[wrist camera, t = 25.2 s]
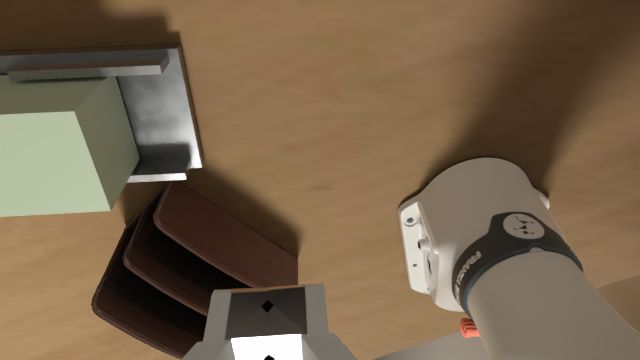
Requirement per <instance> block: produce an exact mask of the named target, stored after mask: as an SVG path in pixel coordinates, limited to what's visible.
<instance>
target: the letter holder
mask: <svg viewBox="0 0 640 360" xmlns="http://www.w3.org/2000/svg"><path fill="white" fill-rule="evenodd" d="M290 285H298V259H297V258H295V257H293V256H292V255H290V254H289V253H287V252H286V251H284V250H283V249H281V248H280V247H278V246H277V245H275V244H273V243H272V242H270V241H269V240H267V239H266V238H264V237H263V236H261V235H259V234H258V233H257V232H255V231H253V230H252V229H250V228H249V227H247V226H246V225H244V224H243V223H241V222H240V221H238V220H237V219H235V218H233V217H232V216H230V215H229V214H227V213H225V212H224V211H223V210H221V209H219V208H218V207H216V206H215V205H213V204H212V203H210V202H208V201H207V200H205V199H204V198H202V197H201V196H199V195H198V194H196V193H194V192H193V191H191V190H190V189H188V188H187V187H185V186H184V185H182V184H181V183H179V182H177V181H176V180H169V181H167V182H166V183H165V184H164V185H163V186H162V187H161V189H160V190H159V191H158V192H157V193H156V194H155V195H154V196H153V197H152V198H151V200H150V201H149V202H148V203H147V204H146V205H145V206H144V207H143V208H142V209H141V210H140V211H139V213H138V214H137V215H136V216H135V217H134V218H133V219H132V220H131V221H130V222H129V224H128V225H127V226H126V228H125V229H124V232H123V234H122V236H121V238H120V240H119V242H118V245H117V247H116V249H115V251H114V253H113V255H112V257H111V260H110V262H109V264H108V266H107V269H106V271H105V273H104V275H103V277H102V279H101V281H100V283H99V285H98V287H97V289H96V292H95V294H94V296H93V298H92V304H91V305H92V310H93V312H94V313H95V314H96V315H97V316H98V317H100V318H102V319H103V320H105V321H107V322H108V323H110V324H111V325H113V326H115V327H116V328H118V329H120V330H121V331H123V332H125V333H127V334H129V335H130V336H132V337H134V338H136V339H138V340H140V341H142V342H143V343H145V344H148V345H150V346H151V347H154V348H156V349H158V350H160V351H162V352H164V353H167V354H169V355H171V356H174V357H176V358H178V359H182V358H183V357H184V356H185V355H186V354H187V353H188V352H189V351H190V350H191V348H192V347H193V346H194V345H195V344H196V343H197V342H203V338H204V333H205V328H206V323H207V317H208V312H209V307H210V302H211V296H212V293H213V292H214V290H223V289H242V288H269V287H276V286H290Z"/></svg>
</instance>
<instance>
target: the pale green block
mask: <svg viewBox="0 0 640 360" xmlns="http://www.w3.org/2000/svg"><path fill="white" fill-rule="evenodd" d="M139 159H140V157H139V154H138V151H137V147H136V144H135V140H134V137H133V134H132V130H131V127H130V124H129V120H128V117H127V113H126V110H125V107H124V103H123V100H122V97H121V93H120V90H119V87H118V83H117V80H116V76H107V77H84V78H61V79H38V80H15V81H11V80H10V78H9V76H8V75H0V217H7V216H25V215H44V214H62V213H80V212H98V211H111V210H112V208H113V206H114V204H115V203H116V201H117V199H118V197H119V195H120V194H121V192H122V190H123V188H124V186H125V185H126V183H127V181H128V179H129V177H130V176H131V174H132V172H133V170H134V168H135V167H136V165H137V163H138V161H139Z"/></svg>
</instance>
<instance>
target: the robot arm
mask: <svg viewBox="0 0 640 360" xmlns="http://www.w3.org/2000/svg"><path fill="white" fill-rule="evenodd" d="M549 207H550V202H549V201H548V199H547V197H546V196H545V195H544V194H543V193H541V192H540V191H538V190H536V189H534V188H533V187H532V185H531V183H530V181H529V179H528V177H527V176H526V174H525V173H524V172H523V171H522V170H521V169H520V168H519V167H518V166H516V165H515V164H513V163H511V162H509V161H506V160H502V159H498V158H477V159H472V160H468V161H464V162H461V163H459V164H456V165H454V166H452V167H450V168H448V169H447V170H445V171H443V172H442V173H440V174H439V175H438V176H437V177H435V178H434V179H433V180H432V181H431V182H430V183H429V184H428V185H427V187H426V188H425V189H424V190H423V191H422V192H421V193H420V194H418V195H417V196H415V197H413V198H411V199H409V200H408V201H406V202H404V203H403V204H402V205H401V206H400V207H399V209H398V215H399V221H400V228H401V235H402V241H403V248H404V255H405V261H406V268H407V275H408V281H409V284H410V286H411V288H412V289H413V290H416V291H418V292H421V293H425V294H431V296H432V299H433V301H434V303H435V304H436V305H438V306H439V307H441V308H444V309H447V310H451V311H461V312H465V313H466V314H467V315H468V316H469V317H470V318H471V319H468V318H462V319H461V320H460V329H461V333H462V334H463V336H464V337H465V338H468V337H472V336H478V337H481V339H482V342H483V344H484V346H485V348H486V351H487V353H488V356H489V358H490V360H640V333H638V332H637V331H636V330H635V329H633V328H632V327H631V326H630V325H629V324H628V323H627V322H626V321H624V320H623V319H622V318H621V316H619V314H618V313H617V312H616V311H615V310H614V309H613V308H612V307H611V306H610V305H609V303H608V302H607V301H606V300H605V299H604V298H603V297H602V296H601V294H600V293H599V292H598V291H597V290H596V288H595V287H594V286H593V285H592V284H591V282H590V281H589V280H588V279H587V278H586V276H585V275H584V274H583V268H582V265H581V263H580V261H579V260H578V258H577V256H576V255H575V252H574V251H573V250H572V248H571V247H569V246H568V245H567V243H566V239H565V237H564V235H563V233H562V232H561V230H560V228H559V227H558V225H557V223H556V222H555V220H554V219H553V217H552V215H551V214H550V212H549V211H548V209H549ZM409 218H411V219H409ZM408 219H409V220H408ZM305 297H306V298H305ZM181 360H357V359H356V358H355V357H354V355H353V354H352V353H351V352H350V351H349V350H348V349H347V347H346V346H345V345H344V344H343V343H342V342H341V341H340V339H339V338H338V337H337V336H336V335H335V334H334V333H328V323H327V312H326V301H325V290H324V285H323V283H321V284H306V285H305V284H303V285H290V286H276V287H269V288H242V289H223V290H214V292H213V293H212V296H211V302H210V307H209V312H208V317H207V323H206V328H205V333H204V338H203V342H197V343H196V344H195V345H194V346H193V347H192V348H191V350H190V351H189V352H188V353H187V354H186V355H185V356H184V357H183V358H182V359H181Z"/></svg>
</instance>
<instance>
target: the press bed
mask: <svg viewBox="0 0 640 360" xmlns="http://www.w3.org/2000/svg"><path fill="white" fill-rule="evenodd" d="M0 75H8V76H9V78H10V80H11V81H15V80H38V79H61V78H84V77H107V76H116V80H117V83H118V87H119V90H120V93H121V97H122V100H123V103H124V107H125V110H126V113H127V117H128V120H129V124H130V127H131V130H132V134H133V137H134V140H135V144H136V147H137V151H138V154H139V157H140V159H139V161H138V163H137V165H136V167H135V168H134V170H133V172H132V174H131V176H130V177H129V179H128V181H127V183H131V182H150V181H169V180H186V179H187V176H188V174H189V171H190V168H202V166H203V163H204V157H203V152H202V147H201V142H200V137H199V133H198V128H197V123H196V118H195V113H194V108H193V103H192V98H191V93H190V88H189V83H188V78H187V73H186V68H185V63H184V58H183V53H182V48H181V44H166V45H141V46H116V47H92V48H67V49H43V50H18V51H0Z"/></svg>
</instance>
